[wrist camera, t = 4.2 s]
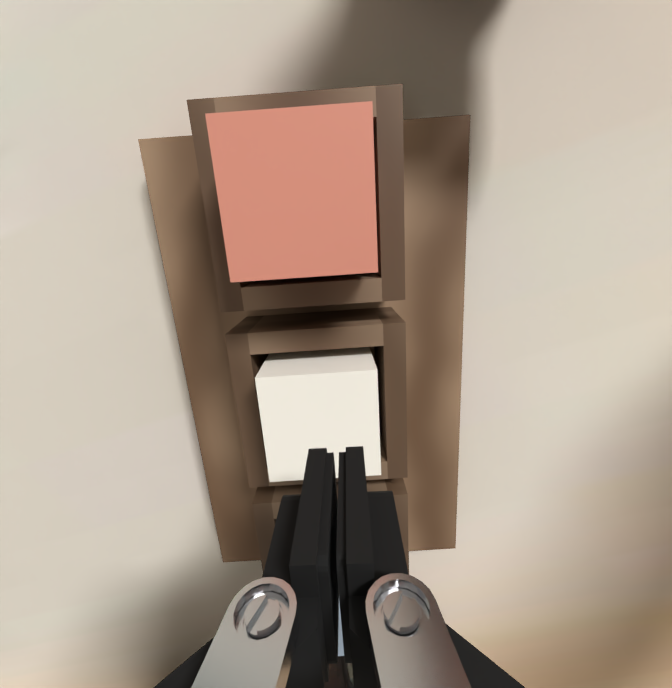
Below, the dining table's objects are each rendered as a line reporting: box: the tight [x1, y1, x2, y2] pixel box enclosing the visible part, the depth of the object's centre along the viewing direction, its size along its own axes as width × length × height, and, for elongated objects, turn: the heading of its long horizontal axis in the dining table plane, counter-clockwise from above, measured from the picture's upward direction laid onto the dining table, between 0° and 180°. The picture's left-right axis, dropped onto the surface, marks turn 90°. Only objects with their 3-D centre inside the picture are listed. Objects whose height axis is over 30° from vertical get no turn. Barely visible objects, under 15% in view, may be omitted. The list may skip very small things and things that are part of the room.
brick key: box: [205, 101, 378, 282], centre depth 13 cm, size 5×5×4 cm
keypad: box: [138, 84, 470, 574], centre depth 19 cm, size 16×26×6 cm, turn 4°
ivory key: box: [255, 347, 381, 482], centre depth 17 cm, size 5×5×4 cm
